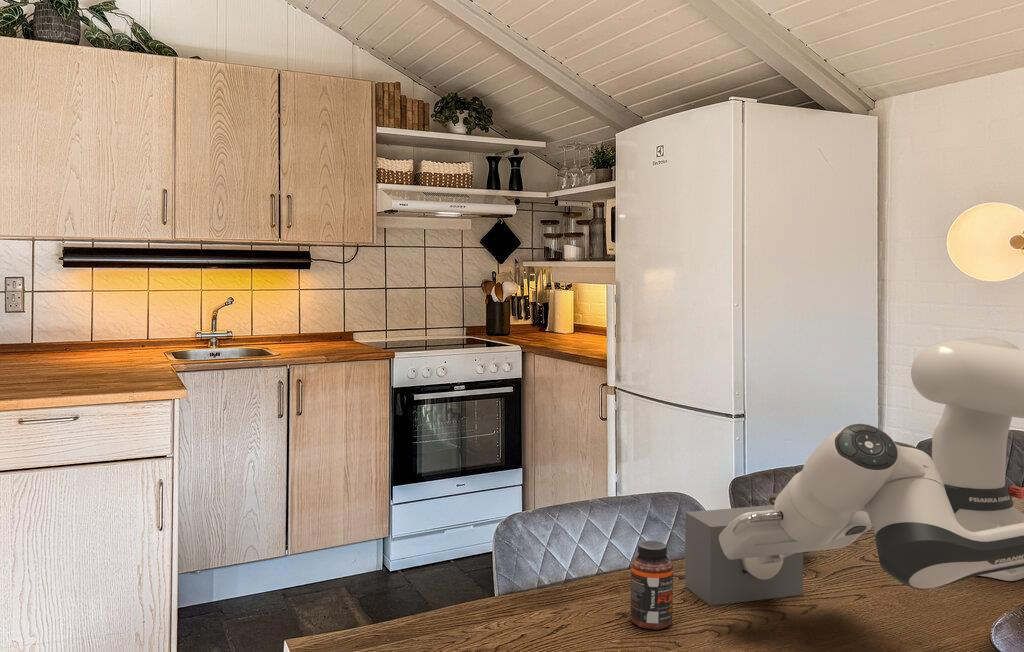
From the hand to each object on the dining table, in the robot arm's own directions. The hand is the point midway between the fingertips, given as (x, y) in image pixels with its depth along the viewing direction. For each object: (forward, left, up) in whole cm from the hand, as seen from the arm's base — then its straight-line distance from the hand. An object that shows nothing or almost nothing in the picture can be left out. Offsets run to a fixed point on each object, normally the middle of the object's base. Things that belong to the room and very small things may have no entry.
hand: (767, 558), depth 117 cm
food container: (-16, -18, -8) cm, 25 cm away
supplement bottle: (+19, 0, -8) cm, 20 cm away
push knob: (0, -5, -3) cm, 6 cm away
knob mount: (0, -7, -7) cm, 10 cm away
